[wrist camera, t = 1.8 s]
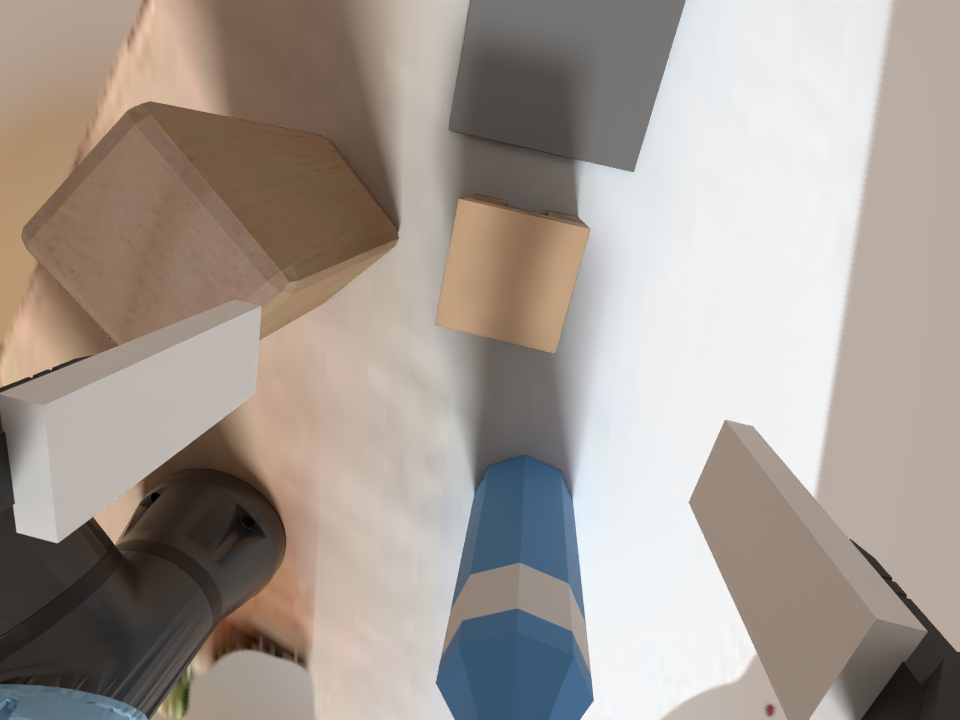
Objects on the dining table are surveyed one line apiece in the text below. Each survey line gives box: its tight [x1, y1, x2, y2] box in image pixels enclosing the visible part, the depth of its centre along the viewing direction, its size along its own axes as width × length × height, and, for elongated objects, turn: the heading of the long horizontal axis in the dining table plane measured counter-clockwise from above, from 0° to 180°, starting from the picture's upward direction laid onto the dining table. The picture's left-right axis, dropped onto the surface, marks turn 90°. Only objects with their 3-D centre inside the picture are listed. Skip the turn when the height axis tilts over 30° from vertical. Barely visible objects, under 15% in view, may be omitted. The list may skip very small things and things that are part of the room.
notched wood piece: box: [435, 194, 590, 354], centre depth 36 cm, size 8×8×10 cm
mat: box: [449, 0, 685, 172], centre depth 35 cm, size 14×14×1 cm
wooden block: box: [22, 101, 399, 346], centre depth 32 cm, size 10×10×20 cm
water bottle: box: [436, 455, 594, 720], centre depth 37 cm, size 9×9×25 cm
